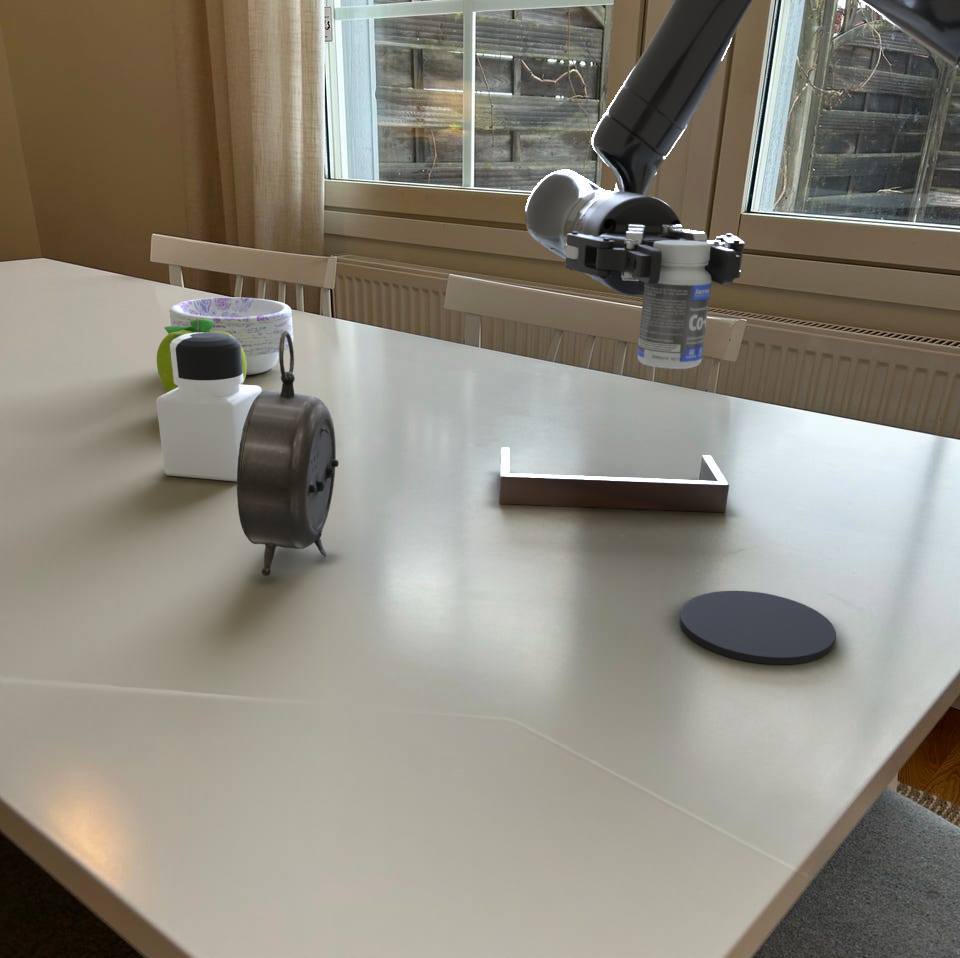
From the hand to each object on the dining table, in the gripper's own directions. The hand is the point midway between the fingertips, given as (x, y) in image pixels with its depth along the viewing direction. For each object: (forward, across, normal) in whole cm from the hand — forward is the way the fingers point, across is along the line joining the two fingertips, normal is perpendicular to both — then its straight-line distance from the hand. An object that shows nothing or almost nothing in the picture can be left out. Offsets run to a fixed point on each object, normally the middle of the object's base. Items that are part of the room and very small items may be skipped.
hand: (693, 267), depth 68 cm
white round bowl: (-65, -37, +21) cm, 78 cm away
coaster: (+14, +2, +21) cm, 25 cm away
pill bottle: (-3, 0, +7) cm, 8 cm away
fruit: (-43, -39, +21) cm, 61 cm away
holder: (-14, 0, +21) cm, 25 cm away
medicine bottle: (-22, -36, +21) cm, 47 cm away
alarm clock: (-1, -28, +21) cm, 35 cm away
